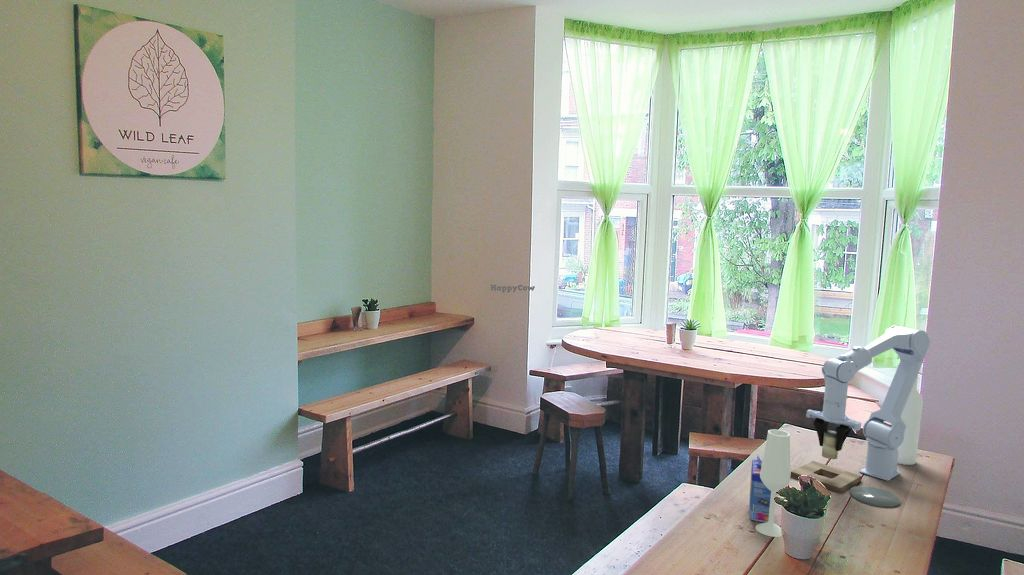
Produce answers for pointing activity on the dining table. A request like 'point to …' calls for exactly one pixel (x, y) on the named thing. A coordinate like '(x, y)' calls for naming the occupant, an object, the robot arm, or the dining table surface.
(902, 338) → the robot arm
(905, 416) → the bottle
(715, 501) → the dining table surface
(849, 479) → the socket block
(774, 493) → the champagne flute
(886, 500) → the disc
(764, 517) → the ink cartridge box
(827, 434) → the small jar
